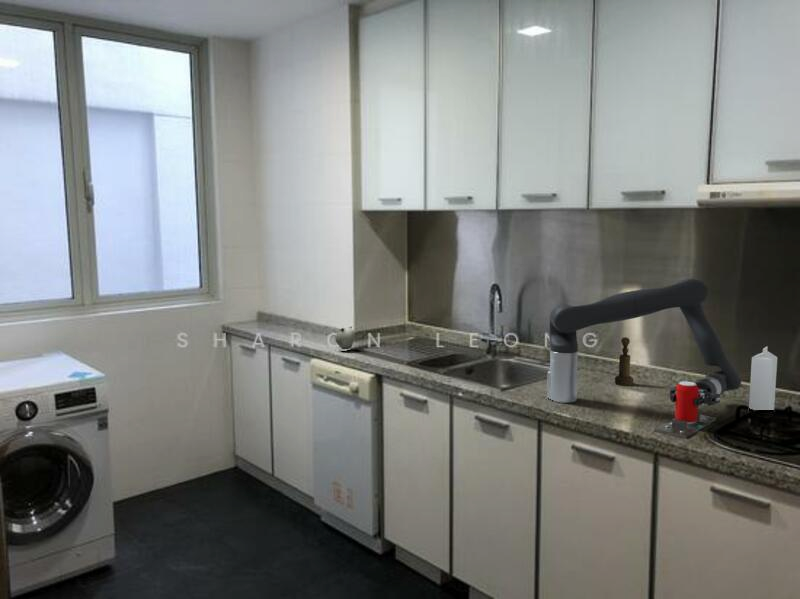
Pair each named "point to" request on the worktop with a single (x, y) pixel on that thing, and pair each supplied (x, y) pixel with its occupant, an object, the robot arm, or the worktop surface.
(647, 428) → the worktop surface
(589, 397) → the worktop surface
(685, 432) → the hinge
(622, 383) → the brown wooden figurine
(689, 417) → the beverage can
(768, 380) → the milk
